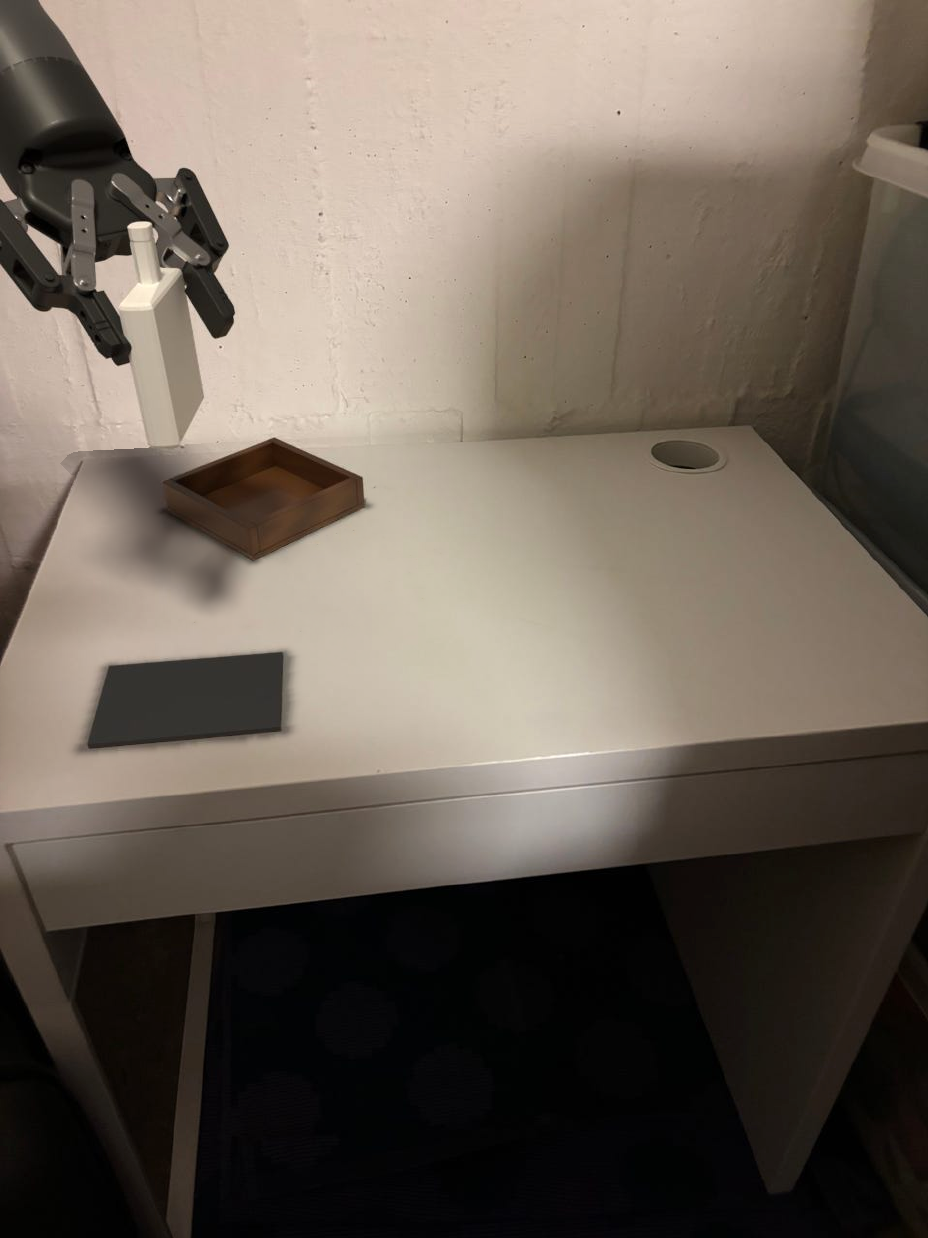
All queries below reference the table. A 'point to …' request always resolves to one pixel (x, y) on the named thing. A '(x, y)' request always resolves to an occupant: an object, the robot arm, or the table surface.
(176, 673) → the mat
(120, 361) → the robot arm
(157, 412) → the perfume bottle
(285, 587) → the table surface
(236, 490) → the compartment
